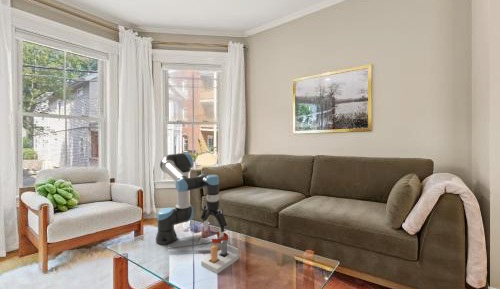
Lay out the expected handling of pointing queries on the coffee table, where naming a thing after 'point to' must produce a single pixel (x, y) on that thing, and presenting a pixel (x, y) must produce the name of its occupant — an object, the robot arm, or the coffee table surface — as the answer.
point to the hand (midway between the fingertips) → (213, 233)
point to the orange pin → (214, 254)
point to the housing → (221, 260)
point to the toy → (219, 240)
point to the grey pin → (223, 248)
